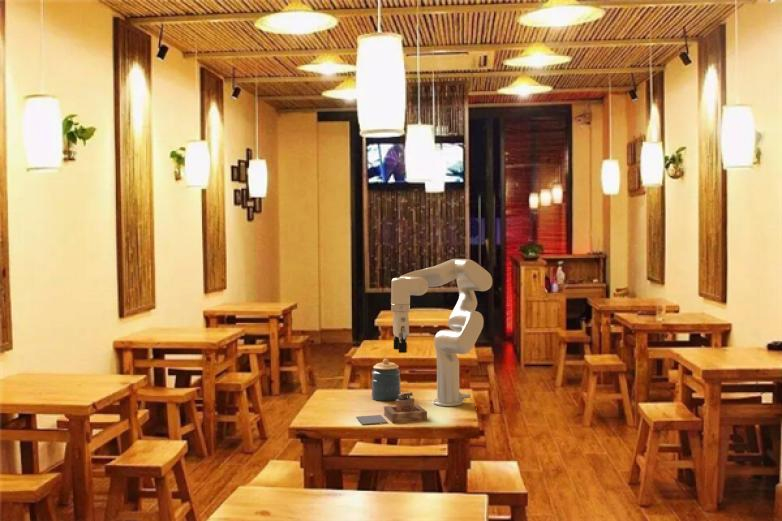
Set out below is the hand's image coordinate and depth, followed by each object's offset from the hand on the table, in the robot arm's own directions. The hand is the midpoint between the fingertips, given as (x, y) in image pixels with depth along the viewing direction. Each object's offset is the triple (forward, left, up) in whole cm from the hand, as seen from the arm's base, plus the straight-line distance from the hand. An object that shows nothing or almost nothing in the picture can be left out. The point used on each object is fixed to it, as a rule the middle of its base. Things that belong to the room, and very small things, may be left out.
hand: (400, 351), depth 335 cm
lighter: (-1, +4, -26) cm, 27 cm away
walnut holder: (-1, +4, -26) cm, 27 cm away
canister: (-2, -33, -26) cm, 42 cm away
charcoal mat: (+13, +5, -26) cm, 30 cm away
